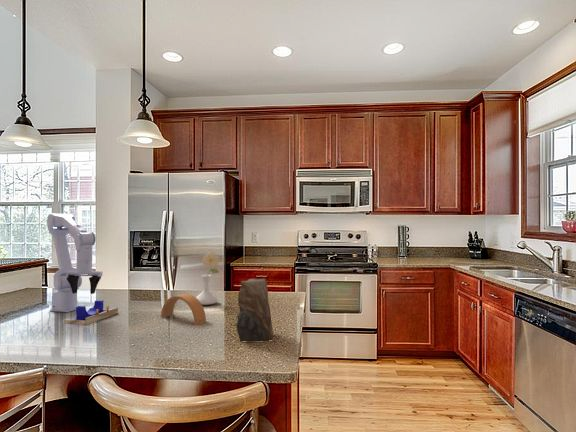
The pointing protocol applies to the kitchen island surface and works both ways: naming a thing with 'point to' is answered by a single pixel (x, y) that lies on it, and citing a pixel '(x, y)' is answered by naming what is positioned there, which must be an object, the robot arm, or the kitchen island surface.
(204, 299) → the flower in vase
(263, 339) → the dark grey rock
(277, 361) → the kitchen island surface
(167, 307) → the arch
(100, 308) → the blue pipe clamp half
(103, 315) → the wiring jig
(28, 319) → the kitchen island surface
